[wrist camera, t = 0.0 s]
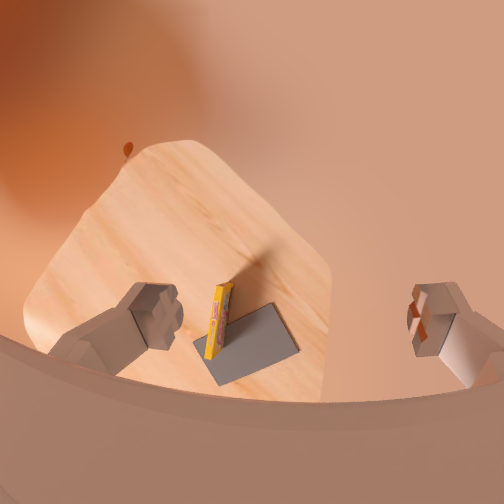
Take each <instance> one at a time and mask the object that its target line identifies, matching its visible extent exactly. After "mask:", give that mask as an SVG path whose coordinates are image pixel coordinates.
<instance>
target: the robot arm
mask: <svg viewBox="0 0 504 504" xmlns="http://www.w3.org/2000/svg"><path fill="white" fill-rule="evenodd" d="M177 295H178V292H177V289H176V286H174V285H173V284H164V283H147V282H137V283H135V284H134V285H133V286H132V287H131V289H130V290H129V291H128V292H127V294H126V295H125V296H124V297H123V299H122V300H121V301H120V302H119V304H118V305H117V306H116V308H111V309H109V310H107V311H105V312H103V313H101V314H99V315H98V316H96V317H94V318H92V319H90V320H88V321H87V322H85V323H83V324H81V325H79V326H77V327H75V328H74V329H72V330H70V331H68V332H66V333H65V334H63V335H62V336H61V338H60V339H59V340H58V342H57V343H56V344H55V345H54V347H53V348H52V349H51V351H50V352H49V353H48V354H45V353H42V352H40V351H37V350H35V349H32V348H30V347H27V346H25V345H22V344H20V343H18V342H15V341H13V340H11V339H8V338H7V337H4V336H2V335H0V504H504V330H502V329H501V328H500V327H498V326H497V325H495V324H494V323H492V322H491V321H489V320H488V319H487V318H485V317H484V316H482V315H481V314H479V313H478V312H473V311H472V310H471V308H470V306H469V304H468V302H467V300H466V299H465V297H464V295H463V293H462V292H461V290H460V288H459V286H458V285H457V283H455V282H444V283H435V284H416V285H415V286H414V288H413V292H412V296H413V299H414V301H413V302H412V303H411V304H410V305H409V308H408V314H407V325H408V329H409V332H410V333H411V334H412V335H413V336H414V338H413V341H412V344H413V347H414V351H415V355H416V357H424V356H437V355H439V358H440V359H441V360H442V361H443V362H444V363H445V364H446V365H447V366H448V367H449V369H451V371H452V372H453V373H454V374H455V375H456V376H457V377H458V378H459V379H460V380H461V382H462V383H463V384H464V385H465V386H466V387H467V388H468V389H464V390H459V391H454V392H448V393H442V394H435V395H429V396H422V397H413V398H405V399H395V400H382V401H367V402H342V403H308V402H280V401H264V400H252V399H241V398H232V397H223V396H216V395H208V394H201V393H195V392H189V391H183V390H177V389H172V388H167V387H162V386H157V385H152V384H147V383H143V382H138V381H134V380H130V379H126V378H122V377H118V376H115V375H116V374H118V373H119V372H120V371H121V370H123V369H124V368H125V367H126V366H128V365H129V364H130V363H131V362H133V361H134V360H135V359H136V358H138V357H139V356H140V355H141V354H143V353H144V352H145V351H146V350H148V348H151V349H159V350H169V348H170V346H171V344H172V342H173V341H174V339H175V336H174V332H175V331H177V330H178V329H180V327H181V325H182V322H183V316H184V315H183V308H182V304H181V303H180V302H179V301H178V300H177V299H176V297H177Z"/></svg>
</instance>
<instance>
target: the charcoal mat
mask: <svg viewBox="0 0 504 504" xmlns="http://www.w3.org/2000/svg"><path fill="white" fill-rule="evenodd" d="M207 337H208V335H206V336H204V337H202V338H200V339H198V340H196V341H194V342H193V344H194V346H195V348H196V349H197V351H198V353H199V355H200V356H201V358H202V360H203V361H204V363H205V365H206V366H207V368H208V370H209V371H210V373H211V375H212V376H213V378H214V379H215V381H216V383H217V384H218V386H221V385H224V384H227V383H229V382H232V381H234V380H237V379H239V378H242V377H244V376H247V375H249V374H251V373H254V372H256V371H258V370H261V369H263V368H265V367H268V366H270V365H272V364H275V363H277V362H279V361H281V360H283V359H286V358H288V357H290V356H292V355H294V354H296V353H298V352H299V351H298V349H297V347H296V346H295V344H294V342H293V340H292V338H291V337H290V335H289V333H288V331H287V329H286V328H285V326H284V324H283V322H282V320H281V319H280V317H279V315H278V313H277V311H276V310H275V308H274V306H273V304H272V303H270V304H268V305H266V306H264V307H262V308H260V309H259V310H257V311H255V312H253V313H251V314H249V315H247V316H245V317H243V318H241V319H239V320H237V321H235V322H233V323H231V324H229V325H227V327H226V332H225V337H224V343H223V349H222V350H221V351H220V352H219V353H218V354H217V355H216V356H215V357H214V358H213V359H212V360H209V359H205V358H204V356H205V350H206V343H207Z"/></svg>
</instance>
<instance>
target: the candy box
mask: <svg viewBox="0 0 504 504" xmlns="http://www.w3.org/2000/svg"><path fill="white" fill-rule="evenodd" d="M233 288H234V283H230V282H226V283H223V284H219V285H216V290H215V295H214V301H213V306H212V312H211V319H210V325H209V331H208V337H207V343H206V350H205V356H204V358H205V359H209V360H212V359H213V358H214V357H215V356H216V355H217V354H218V353H219V352H220V351H221V350H222V349H223V343H224V337H225V332H226V327H227V321H228V316H229V310H230V304H231V298H232V293H233Z"/></svg>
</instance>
